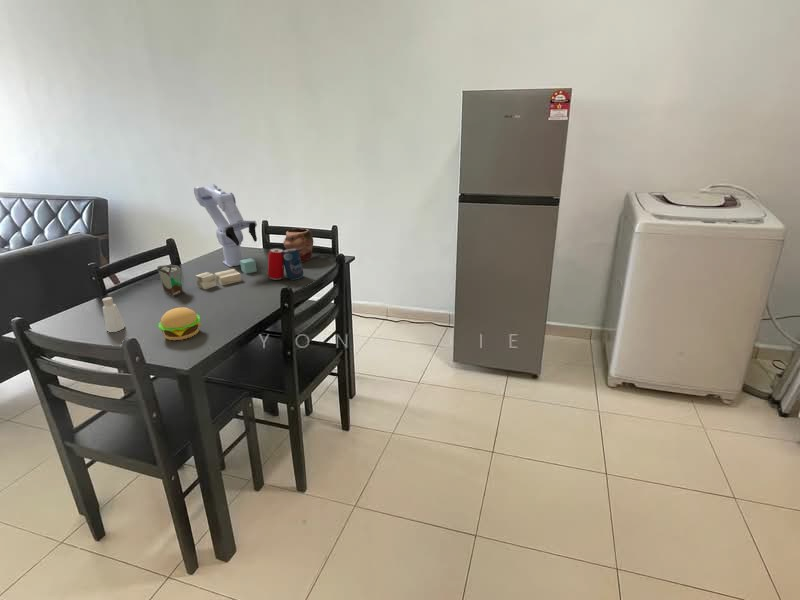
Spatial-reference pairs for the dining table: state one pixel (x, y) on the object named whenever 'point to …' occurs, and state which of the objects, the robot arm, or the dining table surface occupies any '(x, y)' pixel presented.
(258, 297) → the dining table surface
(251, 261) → the teal cube
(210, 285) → the maple cube
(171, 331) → the hamburger
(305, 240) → the decorative planter
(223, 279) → the beech base
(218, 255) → the dining table surface
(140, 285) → the dining table surface
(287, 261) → the soda can
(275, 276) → the beverage can
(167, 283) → the food container
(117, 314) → the pepper shaker
